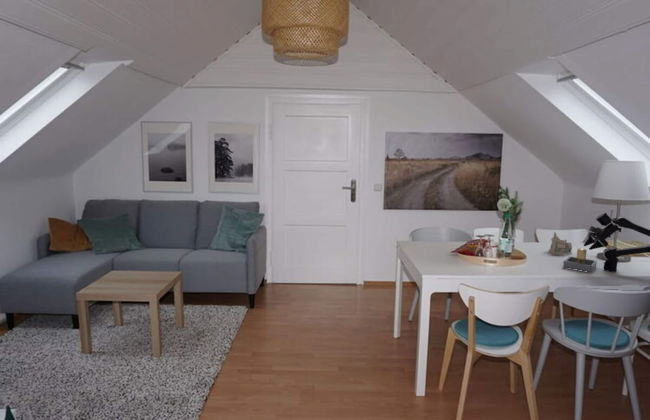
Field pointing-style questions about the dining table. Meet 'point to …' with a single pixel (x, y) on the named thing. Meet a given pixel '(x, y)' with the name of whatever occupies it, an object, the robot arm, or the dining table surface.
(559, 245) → the ceramic cottage
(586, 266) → the charcoal bin
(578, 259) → the brass canister
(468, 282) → the dining table surface
